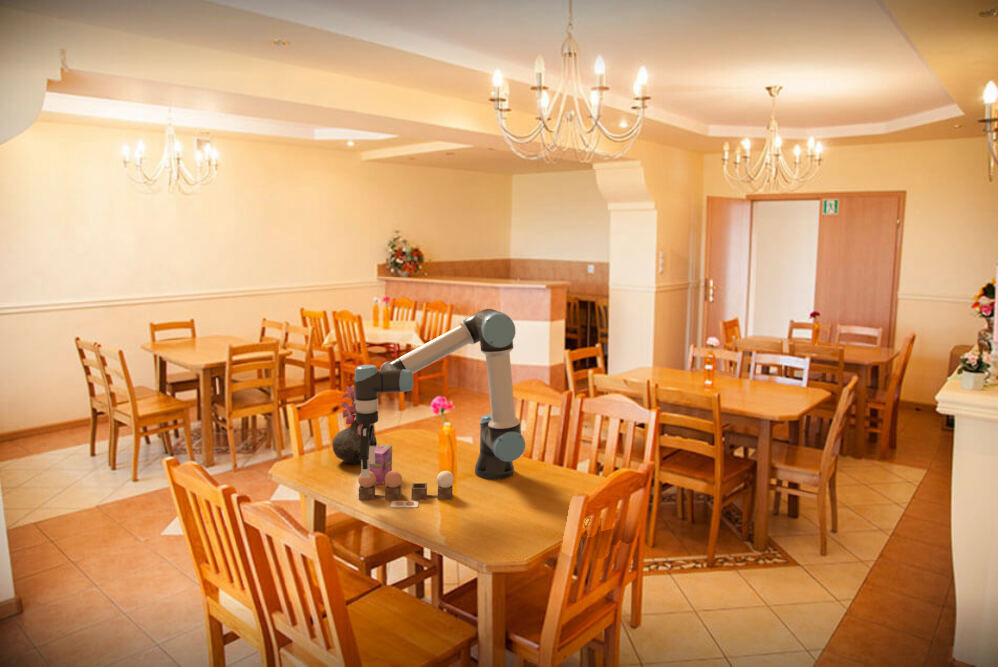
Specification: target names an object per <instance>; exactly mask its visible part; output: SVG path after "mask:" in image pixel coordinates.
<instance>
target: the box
mask: <svg viewBox="0 0 998 667" xmlns="http://www.w3.org/2000/svg"><path fill="white" fill-rule="evenodd" d="M370 471H371V472H373V473H374V474H375V476H376V482H375V485H383V484H384V483H385V476H386V474H387V473H388V472H390V471H393V445H391V444H384V443H377V445H376V447H375V464H370Z"/></svg>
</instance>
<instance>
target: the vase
mask: <svg viewBox="0 0 998 667" xmlns="http://www.w3.org/2000/svg"><path fill="white" fill-rule="evenodd" d="M345 389H346V392H347V393H344V394H343V395H342V396H341V398H340V399H341V400H343V398H348V399H349V400H350V401H351V405H349V403H348V402H346V401H343V403H341V404H340V407H341V408H344V409H343V410H342V418H343V419H345V418H346V420H345V425H350V426H349V427H346V428H344V429H342V430H340V431H339V432H337V434H336V435H335V436H334V438H332V439H333V440H332V449H333V450H332V452H333V453H334V455H335V456H336V458H338V459H339V460H342V461H343V462H346V464H349V465H357V464H358V465H359V464H361V460H359V457H360V447H361V428H362V426H363V425H362V424H359V423H357V422H356V412H357V410H356V404H354V401H356V399H355V388H354V387H353V386H348V387H345ZM375 442H377V437H376V436H375ZM373 446H375V447H376V446H377V445H373ZM363 456H366V455H363Z"/></svg>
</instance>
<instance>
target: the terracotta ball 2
mask: <svg viewBox="0 0 998 667" xmlns="http://www.w3.org/2000/svg"><path fill="white" fill-rule="evenodd" d="M402 482H403V477H402V474H401V473H400V472H399V471H397V470H392V471H390V472H388V473H387V474H386V476H385V482H384V483H385V486H386V485H387V486H388V487H389V488H397V487H399V486H400V484H401V485H402Z"/></svg>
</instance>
